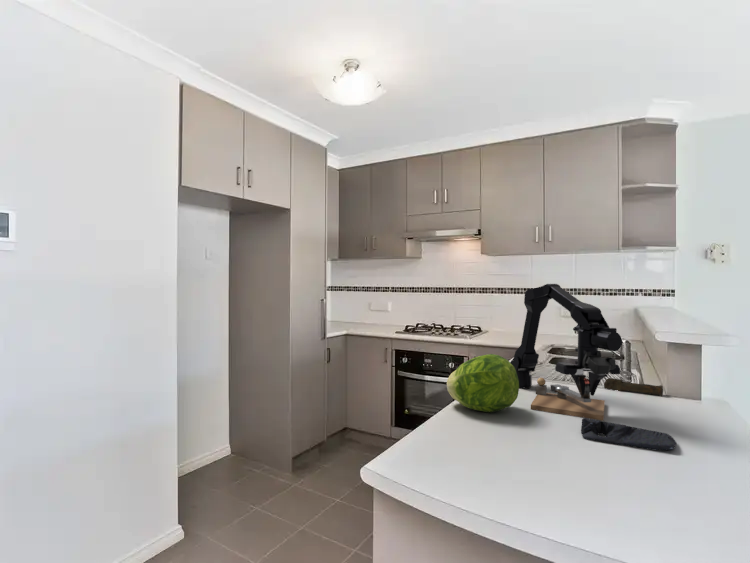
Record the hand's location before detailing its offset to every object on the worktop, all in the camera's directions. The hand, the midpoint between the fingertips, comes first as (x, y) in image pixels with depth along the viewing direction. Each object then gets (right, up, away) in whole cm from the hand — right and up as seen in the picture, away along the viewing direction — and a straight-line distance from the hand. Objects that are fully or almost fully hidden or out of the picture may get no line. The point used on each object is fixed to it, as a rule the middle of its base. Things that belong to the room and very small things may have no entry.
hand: (587, 395), depth 133 cm
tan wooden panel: (-3, -6, +7) cm, 9 cm away
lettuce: (-33, -6, +4) cm, 33 cm away
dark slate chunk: (+1, -7, -20) cm, 21 cm away
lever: (-2, -3, +8) cm, 9 cm away
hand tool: (+30, -6, +25) cm, 39 cm away
